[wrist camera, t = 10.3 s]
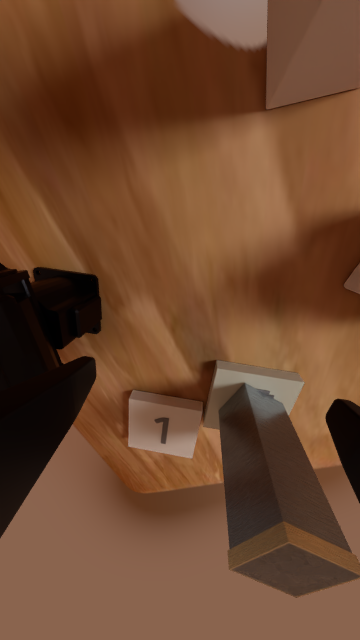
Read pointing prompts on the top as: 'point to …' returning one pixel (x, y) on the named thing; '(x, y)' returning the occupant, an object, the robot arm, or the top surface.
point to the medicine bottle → (354, 280)
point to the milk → (311, 49)
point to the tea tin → (277, 502)
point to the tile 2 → (263, 379)
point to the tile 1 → (163, 423)
